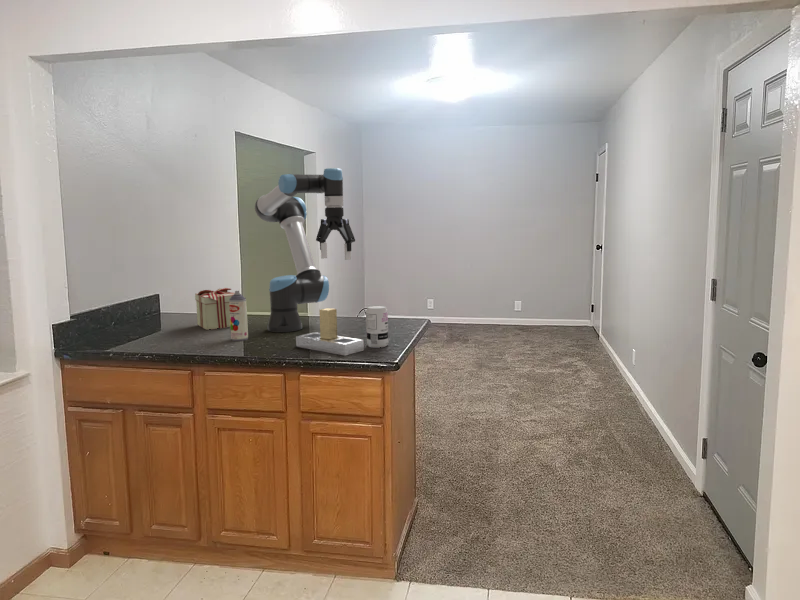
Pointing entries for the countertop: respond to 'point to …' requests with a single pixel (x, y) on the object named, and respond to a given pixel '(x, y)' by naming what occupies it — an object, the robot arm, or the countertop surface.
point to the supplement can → (377, 326)
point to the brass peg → (328, 324)
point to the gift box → (213, 308)
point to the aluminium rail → (330, 344)
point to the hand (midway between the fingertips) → (335, 259)
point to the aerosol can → (238, 317)
